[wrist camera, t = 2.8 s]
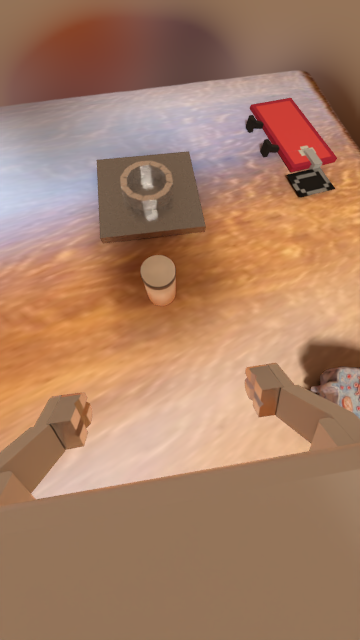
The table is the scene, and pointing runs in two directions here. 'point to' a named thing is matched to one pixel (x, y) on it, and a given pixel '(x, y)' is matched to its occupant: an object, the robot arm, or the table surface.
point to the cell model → (341, 387)
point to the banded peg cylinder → (159, 279)
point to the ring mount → (148, 197)
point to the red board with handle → (293, 144)
